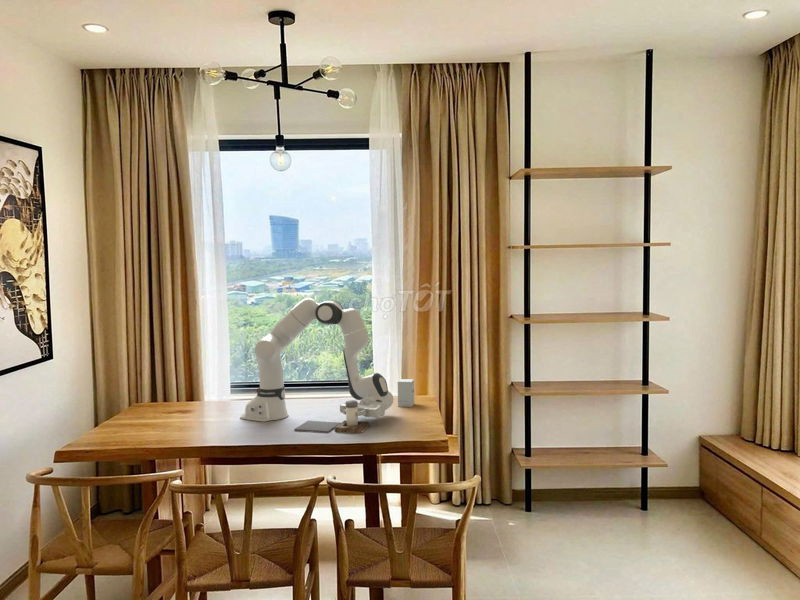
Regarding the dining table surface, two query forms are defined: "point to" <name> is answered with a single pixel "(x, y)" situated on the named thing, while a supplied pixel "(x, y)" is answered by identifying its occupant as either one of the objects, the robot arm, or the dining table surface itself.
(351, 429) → the walnut socket
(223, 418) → the dining table surface
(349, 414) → the cream canister
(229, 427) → the dining table surface
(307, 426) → the grey mat
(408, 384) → the supplement box
